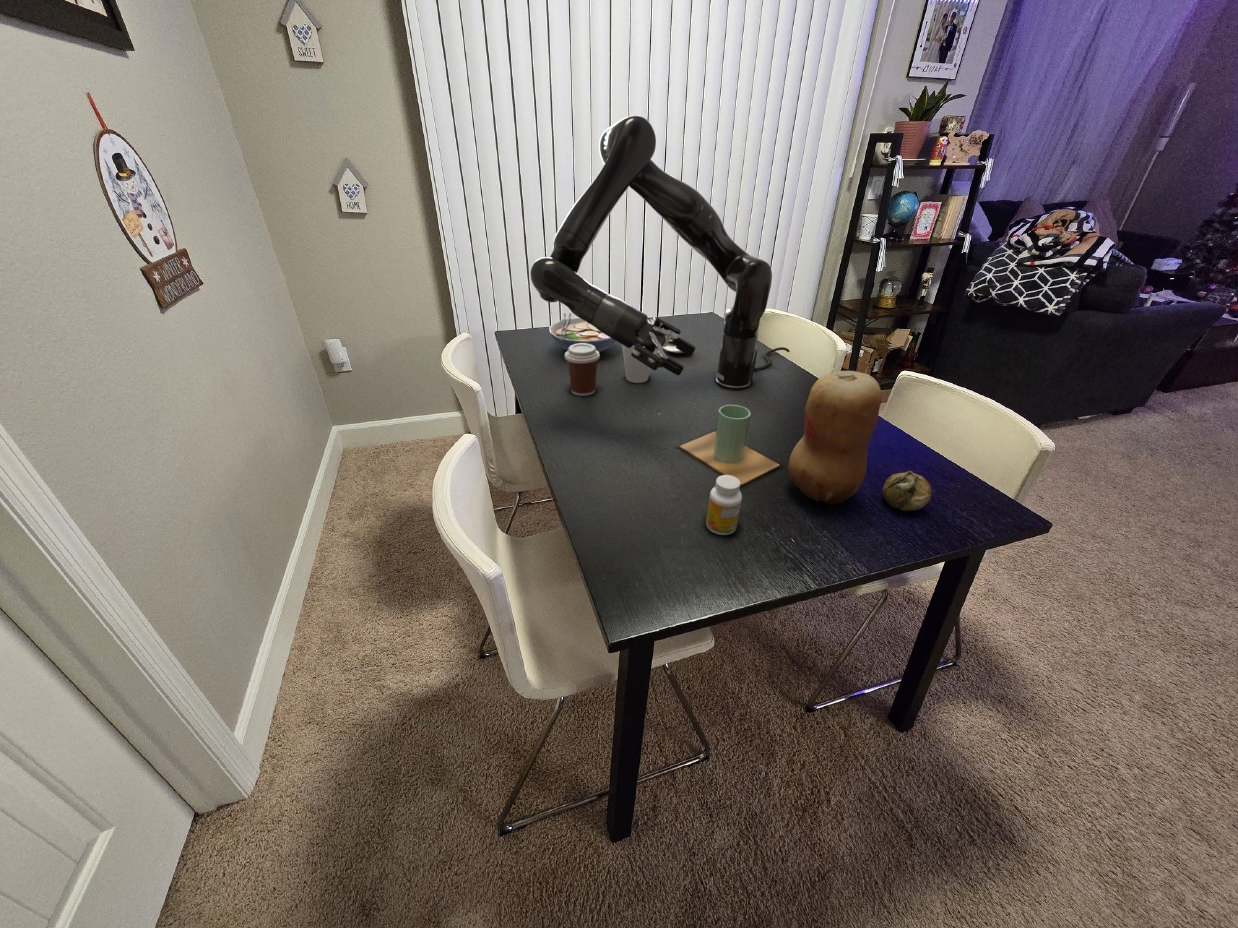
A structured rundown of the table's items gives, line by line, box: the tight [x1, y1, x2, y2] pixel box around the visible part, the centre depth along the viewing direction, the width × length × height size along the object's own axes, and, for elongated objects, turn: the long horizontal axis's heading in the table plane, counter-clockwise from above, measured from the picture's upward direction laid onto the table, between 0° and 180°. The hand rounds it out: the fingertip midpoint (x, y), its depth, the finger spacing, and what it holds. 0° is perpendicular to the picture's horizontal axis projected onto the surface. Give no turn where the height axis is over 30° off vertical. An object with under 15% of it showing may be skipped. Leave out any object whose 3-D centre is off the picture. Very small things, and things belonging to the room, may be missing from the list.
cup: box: [713, 404, 752, 463], centre depth 105 cm, size 6×6×10 cm
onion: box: [882, 470, 933, 512], centre depth 92 cm, size 8×8×8 cm
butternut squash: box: [787, 370, 883, 505], centre depth 90 cm, size 14×13×25 cm
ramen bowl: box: [548, 312, 616, 353], centre depth 157 cm, size 25×23×8 cm
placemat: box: [678, 430, 781, 487], centre depth 108 cm, size 18×12×1 cm, turn 37°
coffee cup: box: [564, 343, 601, 397], centre depth 132 cm, size 9×9×12 cm
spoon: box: [647, 316, 684, 354], centre depth 167 cm, size 9×32×4 cm, turn 22°
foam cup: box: [621, 344, 652, 384], centre depth 139 cm, size 10×9×13 cm
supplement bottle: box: [705, 474, 743, 536], centre depth 86 cm, size 5×5×10 cm
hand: (687, 361), depth 102 cm, fingers open, 8 cm apart
